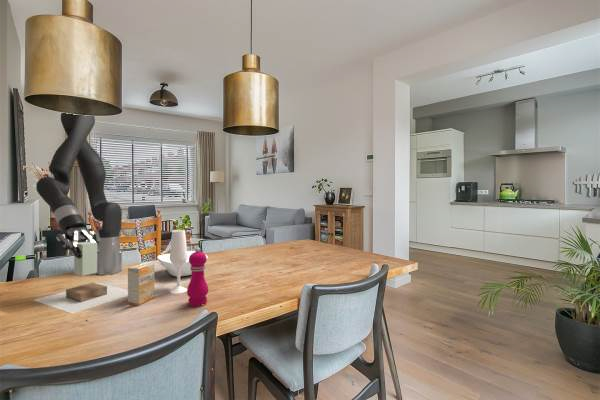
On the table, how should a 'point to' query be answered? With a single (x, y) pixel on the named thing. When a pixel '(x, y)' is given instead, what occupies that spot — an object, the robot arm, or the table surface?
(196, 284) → the pepper mill
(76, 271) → the sage block
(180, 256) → the champagne flute
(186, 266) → the bowl
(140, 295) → the supplement box
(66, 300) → the grey board
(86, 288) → the walnut plinth
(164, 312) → the table surface
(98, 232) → the robot arm
